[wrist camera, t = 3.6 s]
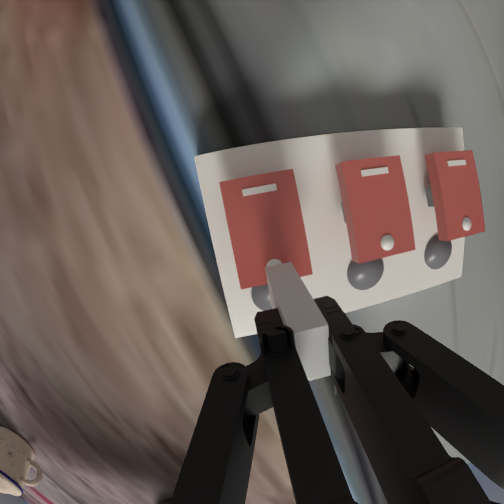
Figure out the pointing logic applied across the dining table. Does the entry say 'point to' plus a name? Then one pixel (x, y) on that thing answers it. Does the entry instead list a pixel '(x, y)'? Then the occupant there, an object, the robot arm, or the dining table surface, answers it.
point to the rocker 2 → (375, 207)
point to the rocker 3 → (454, 194)
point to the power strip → (335, 217)
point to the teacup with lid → (16, 463)
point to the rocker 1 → (265, 225)
